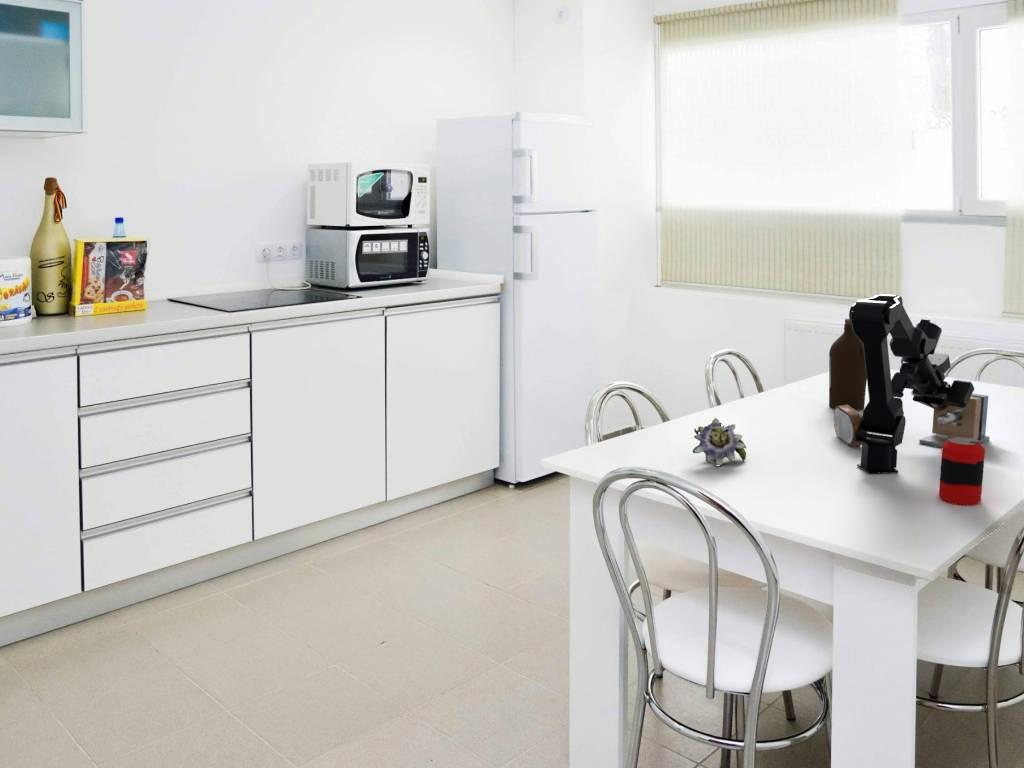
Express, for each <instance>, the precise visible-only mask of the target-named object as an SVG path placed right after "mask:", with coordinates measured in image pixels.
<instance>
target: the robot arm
mask: <svg viewBox="0 0 1024 768" xmlns="http://www.w3.org/2000/svg"><path fill="white" fill-rule="evenodd" d="M848 312H849V313H848V319H850V321H851V323H852V328H853V332H854V333H855V335H856V336H857V337H858V338H859V339H860V340H861V341H862V343H863V348H864V357H865V366H866V375H867V382H866V385H867V391H868V403H867V404H866V406H864V408H863V409H862V410H863V411H862V415H861V420H860V423H859V425H858V428H857V430H856V433H855V438H856V441H857V442H859V441H860V442H862V445H861V452H860V463H857V464H856V466H857V467H858V468H860V469H861V470H863V471H865V472H866V473H868V474H871V475H874V474H876V475H877V474H896V473H899V469H897V463H898V449H897V447H898V446H899V445H901V444H903V439H904V435H905V434H904V433H905V429H906V422H907V421H906V416H904V414H905V412H904V404H903V403H904V402H903V400H902V399H901V398H903V397H904V395H905V394H904V391H905V389H908V390H911V392H910V394H911V396H913V397H912V400H913V402H917V403H920V404H922V405H924V406H926V407H928V408H930V409H932V410H934V409H935V410H937V411H941V410H942V408H943V403H944V401H945V399H946V402H947V404H949V405H951V406H955V407H961V408H963V407H966V405H967V403H968V401H969V399H970V397H971V395H972V393H973V394H974V391H975V387H974V384H973V383H972V382H971V381H967V380H961V379H955V380H953V381H952V383H951V384H949V383H948V381H945V379H946V376H945V373H946V372H947V371H948V370H950V369H951V361H950V356H949V354H947V353H939V352H936V349H937V346H938V342H939V341H940V337H941V336H942V332H943V331H942V328H941V327H940V326H938V324H936V323H933V322H931V319H920V321H919V322H918V323H917V324H915V326H914V324H913V323H912V321H911V318H910V316H909V315H908V313H907V311H906V309H905V307H904V305H903V297H902V296H900V295H898V294H882V293H880V294H879V295H874V296H873V297H869V298H868V297H867V298H864V299H857V300H856V302H855V303H853V304H852V305H851V306H850V309H849V311H848ZM889 334H890V336H891V339H890V341H889V343H888V335H889ZM889 347H890V351H891V352H892V355H893V356H894V357H897V358H901V360H900V367H899V371H897V372H895V373H894V374H893V376H891V367H890V365H891V364H890V363H891V362H890V357H889Z"/></svg>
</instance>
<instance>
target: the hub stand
mask: <svg viewBox="0 0 1024 768" xmlns="http://www.w3.org/2000/svg"><path fill="white" fill-rule="evenodd" d="M971 396H972V397H978V398H981V409H980V421H979V434H978V439H977V440H978V441H980V443H981V445H982V444H984V443H988V442H989V441H990V438H991V437H990V436H988V435H986V432H987V429H986V428H987V420H988V419H987V418H988V407H989V395H985V394H978V393H974V392H973V393H972V395H971ZM962 413H963V410H960V409H954V408H951V412H950V413H947V414H944V415H941V416H939V417H938V418H937V423H938V424H939V425H941V426H943V425H947V424H950V423H953V422H955V423H960V424H962ZM949 438H953V437H950V436H945V435H939V434H934V433H933V434H932V435H929V436H926V437H922V438H920V439H918V440H919V441H918V444H919V443H920V445H924V446H930V445H931V447H935V446H936V448H940V447H941V449H942V445H943V444H944V443H945V442H946V441H947V440H948V439H949Z"/></svg>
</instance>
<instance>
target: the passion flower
mask: <svg viewBox="0 0 1024 768" xmlns="http://www.w3.org/2000/svg"><path fill="white" fill-rule="evenodd" d="M693 429H694V433H695V435H694V436H693V438H694V439H696V440H697V441H699V444H698V445H696V446H695V447H694V448H693V449H692V453H693V454H700V453H704V455H705V461H706V464H710V463H712V462H713V463H714V464H715V466H716V465H721V466H722V465H723V462H724V459H725V458H726V459H728V461H731V462H735V460H736V454H735V452H736V453H737V454H738V456H739V457H740V458H741V460H742V461H743V460H745V461H746V458H747V452H746V450H745V449H747V446H746V444H745V442H744V441H743V440H742V438H743V435H742V434H738V433H735V431H734V430H735V429H736V424H735V423H734V424H731V425H730V424H729V425H727V426H725V425H722V422H720V420H719V418H717V417H714V419H713V420H712V422H711V423H710V424H709V423H708V425H705V426H701V425H699V426H698V427H697V429H696V428H693Z"/></svg>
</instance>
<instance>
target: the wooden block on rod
mask: <svg viewBox="0 0 1024 768" xmlns="http://www.w3.org/2000/svg"><path fill="white" fill-rule="evenodd" d="M951 408H954V409H960V410H963V413H962V424H960V423H955V422H953V423H950V424H947V425H943V426H941V425H939V424H938V423H937V418H938V417H939V416H941V415H944V414H947V413H950V412H951ZM980 409H981V398H978V397H972V396H971V397H970V399H969V401H968V403H967V405H966V407H963V408H961V407H955V406H951V405H949V404H947V402H946V399H945V401H944V403H943V408H942V410H941V411H937V410H935V409H933V414H932V415H933V416H932V417H933V418H932V430H931V432H932V434H933V435H934V434H939V435H945V436H950V437H964V438H972V439H976V440H977V439H978V434H979V421H980Z"/></svg>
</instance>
